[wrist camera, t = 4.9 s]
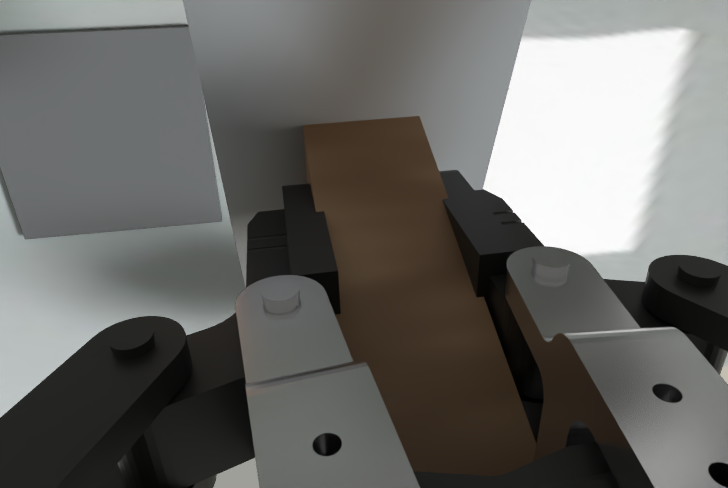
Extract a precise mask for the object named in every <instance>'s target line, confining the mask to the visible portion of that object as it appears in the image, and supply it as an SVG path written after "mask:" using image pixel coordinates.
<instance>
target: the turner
mask: <svg viewBox="0 0 728 488" xmlns="http://www.w3.org/2000/svg"><path fill="white" fill-rule="evenodd" d="M530 2H531V0H183V3H184V8H185V12H186V17H187V21H188V26H189V31H190V35H191V40H192V44H193V49H194V54H195V58H196V63H197V68H198V72H199V77H200V81H201V86H202V91H203V95H204V100H205V104H206V109H207V114H208V118H209V123H210V127H211V132H212V137H213V141H214V146H215V150H216V155H217V160H218V164H219V169H220V173H221V178H222V183H223V187H224V192H225V197H226V201H227V206H228V210H229V215H230V220H231V224H232V229H233V233H234V238H235V243H236V247H237V252H238V256H239V261H240V266H241V270H242V275H243V279H244V284H245V287H246V265H247V224H248V223H249V222H250V221H251V220H252V218H253V217H254V216H255V215H256V214H257V213H258V212H260V211H270V210H280V209H284V202H283V192H282V186H286V185H297V184H308V183H310V186H311V190H312V195H313V200H314V205H315V210H316V212H321V211H324V214H325V218H326V222H327V226H328V231H329V235H330V239H331V243H332V247H333V252H334V256H335V260H336V264H337V268H338V277H339V293H340V309H341V314H335V316H336V319H337V321H338V324H339V326H340V329H341V331H342V334H343V337H344V339H345V342H346V344H347V347H348V349H349V352H350V354H351V357H352V359H353V361H357V360H362V359H363V360H364V361H365V362H366V363H367V365H368V367H369V369H370V371H371V373H372V376H373V378H374V380H375V383H376V385H377V387H378V390H379V392H380V394H381V397H382V399H383V401H384V404H385V406H386V409H387V411H388V413H389V416H390V418H391V420H392V423H393V425H394V427H395V430H396V432H397V434H398V437H399V439H400V442H401V444H402V446H403V449H404V451H405V453H406V456H407V458H408V460H409V463H410V465H411V467H412V470H413V471H417V472H434V473H450V474H467V475H483V476H498V475H503V474H506V473H508V472H511V471H513V470H515V469H518V468H520V467H522V466H524V465H527V464H529V463H531V462H533V459H534V456H535V451H536V445H537V444H536V441H535V439H534V436H533V433H532V430H531V427H530V425H529V422H528V419H527V416H526V413H525V411H524V408H523V405H522V402H521V399H520V397H519V394H518V391H517V388H516V385H515V383H514V380H513V377H512V374H511V371H510V369H509V366H508V363H507V360H506V357H505V355H504V352H503V349H502V346H501V343H500V341H499V338H498V335H497V332H496V329H495V327H494V324H493V321H492V318H491V315H490V313H489V310H488V307H487V304H486V301H485V299H484V297H477V298H476V295H475V292H474V289H473V286H472V283H471V280H470V277H469V275H468V272H467V269H466V266H465V263H464V260H463V257H462V254H461V252H460V249H459V246H458V243H457V240H456V237H455V234H454V231H453V229H452V226H451V223H450V220H449V217H448V214H447V211H446V208H445V206H444V203H443V200H442V199H449V198H448V195H447V192H446V189H445V186H444V184H443V181H442V178H441V175H440V172H439V171H448V170H458V171H459V172H460V173H461V174H462V176H463V177H464V178H465V179H466V181H467V182H468V183H469V184H470V186H471V187H472V188H473V189H474V190H482V188H483V184H484V181H485V177H486V173H487V169H488V165H489V161H490V157H491V153H492V150H493V146H494V142H495V138H496V134H497V130H498V126H499V122H500V118H501V115H502V111H503V107H504V103H505V99H506V95H507V91H508V87H509V83H510V80H511V76H512V72H513V68H514V64H515V60H516V56H517V52H518V49H519V45H520V41H521V37H522V33H523V29H524V25H525V21H526V17H527V14H528V10H529V6H530Z"/></svg>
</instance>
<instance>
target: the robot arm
mask: <svg viewBox="0 0 728 488" xmlns="http://www.w3.org/2000/svg"><path fill="white" fill-rule="evenodd" d="M439 172H440V175H441V178H442V181H443V184H444V186H445V189H446V192H447V195H448V198H449V199H442V200H443V203H444V206H445V208H446V211H447V214H448V217H449V220H450V223H451V226H452V229H453V231H454V234H455V237H456V240H457V243H458V246H459V249H460V252H461V254H462V257H463V260H464V263H465V266H466V269H467V272H468V275H469V277H470V280H471V283H472V286H473V289H474V292H475V295H476V298H477V297H484V299H485V301H486V304H487V307H488V310H489V313H490V315H491V318H492V321H493V324H494V327H495V329H496V332H497V335H498V338H499V341H500V343H501V346H502V349H503V352H504V355H505V357H506V360H507V363H508V366H509V369H510V371H511V374H512V377H513V380H514V383H515V385H516V388H517V391H518V394H519V397H520V399H521V402H522V405H523V408H524V411H525V413H526V416H527V419H528V422H529V425H530V427H531V430H532V433H533V436H534V439H535V441H536V444H537V445H536V451H535V456H534V459H533V462H531V463H529V464H527V465H524V466H522V467H520V468H518V469H515V470H513V471H511V472H508V473H506V474H503V475H498V476H483V475H467V474H450V473H434V472H417V471H413V470H412V467H411V465H410V463H409V460H408V458H407V456H406V453H405V451H404V449H403V446H402V444H401V442H400V439H399V437H398V434H397V432H396V430H395V427H394V425H393V423H392V420H391V418H390V416H389V413H388V411H387V409H386V406H385V404H384V401H383V399H382V397H381V394H380V392H379V390H378V387H377V385H376V383H375V380H374V378H373V376H372V373H371V371H370V369H369V367H368V365H367V363H366V362H365V361H364V360H363V359H362V360H357V361H353V359H352V357H351V354H350V352H349V349H348V347H347V344H346V342H345V339H344V337H343V334H342V331H341V329H340V326H339V324H338V321H337V319H336V316H335V314H341V309H340V293H339V277H338V268H337V264H336V260H335V256H334V252H333V247H332V243H331V239H330V235H329V231H328V226H327V222H326V218H325V214H324V211H321V212H316V210H315V205H314V200H313V195H312V190H311V186H310V183H308V184H297V185H286V186H282V192H283V202H284V209H280V210H270V211H260V212H258V213H257V214H256V215H255V216H254V217H253V218H252V220H251V221H250V222H249V223H248V224H247V265H246V288H245V289H244V290H243V291H242V292H241V293H240V294H239V296H238V297H237V300H236V303H235V308H236V313H235V314H233V315H232V316H231V317H230V318H228V319H227V320H225V321H223V322H221V323H219V324H217V325H215V326H213V327H210V328H208V329H205V330H202V331H199V332H196V333H193V334H190V335H187V336H186V334H185V331H184V329H183V327H182V326H181V325H180V324H179V323H177V322H176V321H174V320H172V319H169V318H165V317H159V316H145V317H137V318H132V319H128V320H125V321H122V322H119V323H116V324H114V325H112V326H110V327H108V328H106V329H104V330H103V331H101V332H99V333H98V334H97V335H95V336H94V337H93V338H92V339H91V340H89V341H88V342H87V343H86V344H85V345H84V346H82V347H81V348H80V349H79V350H78V351H77V352H76V353H74V354H73V355H72V356H71V357H70V358H69V359H68V360H66V361H65V362H64V363H63V364H62V365H61V366H59V367H58V368H57V369H56V370H55V371H54V372H53V373H51V374H50V375H49V376H48V377H47V378H46V379H44V380H43V381H42V382H41V383H40V384H39V385H38V386H36V387H35V388H34V389H33V390H32V391H31V392H30V393H28V394H27V395H26V396H25V397H24V398H23V399H21V400H20V401H19V402H18V403H17V404H16V405H15V406H13V407H12V408H11V409H10V410H9V411H8V412H7V413H5V414H4V415H3V416H2V417H1V418H0V488H213V486H214V484H215V481H216V475H217V474H218V473H221V472H223V471H225V470H228V469H230V468H232V467H234V466H237V465H239V464H241V463H244V462H246V461H248V460H250V459H253V458H255V459H256V466H257V472H258V480H259V488H728V384H727V383H726V382H725V381H724V379H723V378H722V377H721V376H720V373H721V370H722V367H723V364H724V361H725V358H726V356H727V353H728V266H726V265H724V264H721V263H719V262H716V261H713V260H709V259H706V258H701V257H696V256H689V255H670V256H664V257H660V258H658V259H656V260H654V261H653V262H652V263H651V264H650V265H649V269H648V273H647V277H646V281H645V282H636V281H622V280H609V279H603V278H602V277H601V276H600V274H599V273H598V272H597V270H596V269H595V268H594V266H593V265H592V264H591V263H590V262H589V261H588V260H586V259H585V258H584V257H582V256H580V255H578V254H576V253H574V252H571V251H568V250H565V249H561V248H555V247H545V246H544V245H543V244H542V243H541V242H540V241H539V240H538V239H537V238H536V236H535V235H534V234H533V233H532V232H531V231H530V230H529V228H528V227H527V226H526V225H525V224H524V223H521V219H520V218H519V217H518V216H517V215H516V214H515V213H513V210H512V209H511V208H510V207H509V206H508V205H507V204H506V203H505V201H504V200H503V199H502V198H500V197H498V196H496V195H494V194H492V193H490V192H488V191H486V190H474V189H473V188H472V187H471V186H470V184H469V183H468V182H467V181H466V179H465V178H464V177H463V176H462V174H461V173H460V172H459V171H458V170H448V171H439Z"/></svg>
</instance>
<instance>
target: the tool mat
mask: <svg viewBox="0 0 728 488" xmlns="http://www.w3.org/2000/svg"><path fill="white" fill-rule="evenodd" d="M0 168H1V171H2V174H3V177H4V180H5V183H6V186H7V189H8V192H9V194H10V197H11V200H12V203H13V206H14V209H15V212H16V215H17V218H18V221H19V224H20V226H21V229H22V232H23V235H24V238H25V239H34V238H45V237H56V236H67V235H78V234H89V233H100V232H111V231H122V230H133V229H144V228H156V227H167V226H178V225H189V224H200V223H211V222H222V215H221V209H220V202H219V196H218V189H217V182H216V176H215V169H214V163H213V156H212V150H211V143H210V136H209V130H208V123H207V117H206V110H205V103H204V97H203V91H202V86H201V81H200V77H199V72H198V68H197V63H196V58H195V54H194V49H193V44H192V40H191V35H190V31H189V26H177V27H154V28H131V29H109V30H86V31H63V32H40V33H17V34H0Z"/></svg>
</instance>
